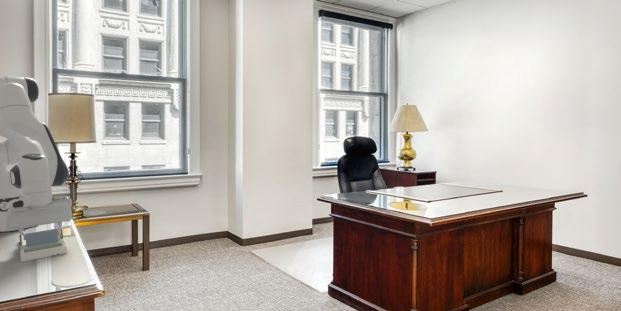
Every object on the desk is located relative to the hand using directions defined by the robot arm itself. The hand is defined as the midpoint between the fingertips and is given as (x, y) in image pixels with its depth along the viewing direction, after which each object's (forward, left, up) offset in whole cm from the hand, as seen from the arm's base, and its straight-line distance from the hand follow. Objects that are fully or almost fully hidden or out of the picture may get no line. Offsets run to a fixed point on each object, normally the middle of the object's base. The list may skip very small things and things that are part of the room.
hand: (41, 237), depth 150 cm
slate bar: (+3, +1, -2) cm, 3 cm away
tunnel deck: (-3, -1, -4) cm, 5 cm away
